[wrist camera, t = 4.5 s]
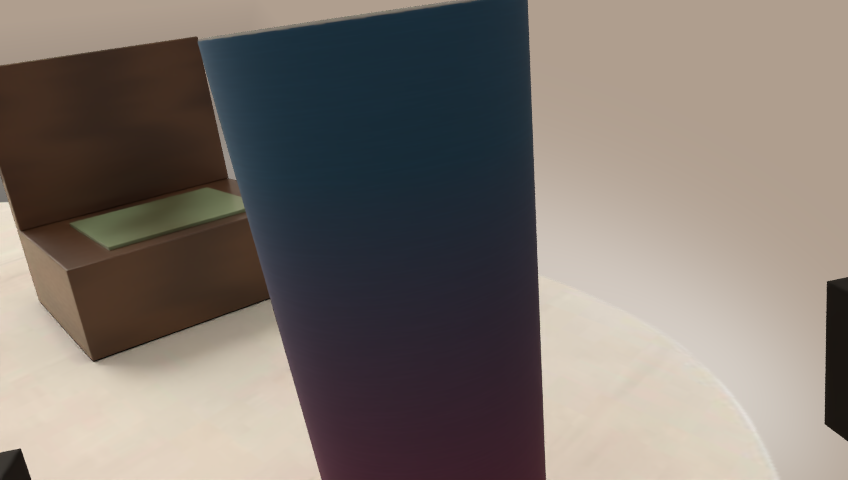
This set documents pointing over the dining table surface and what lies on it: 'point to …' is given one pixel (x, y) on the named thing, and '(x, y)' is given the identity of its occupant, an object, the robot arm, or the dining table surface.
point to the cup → (397, 231)
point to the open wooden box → (124, 194)
